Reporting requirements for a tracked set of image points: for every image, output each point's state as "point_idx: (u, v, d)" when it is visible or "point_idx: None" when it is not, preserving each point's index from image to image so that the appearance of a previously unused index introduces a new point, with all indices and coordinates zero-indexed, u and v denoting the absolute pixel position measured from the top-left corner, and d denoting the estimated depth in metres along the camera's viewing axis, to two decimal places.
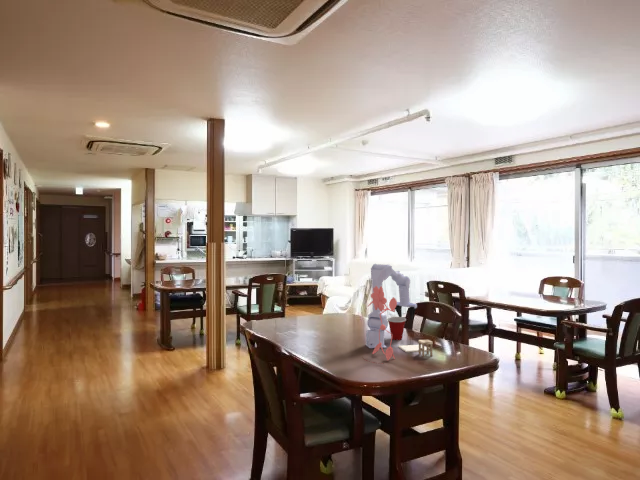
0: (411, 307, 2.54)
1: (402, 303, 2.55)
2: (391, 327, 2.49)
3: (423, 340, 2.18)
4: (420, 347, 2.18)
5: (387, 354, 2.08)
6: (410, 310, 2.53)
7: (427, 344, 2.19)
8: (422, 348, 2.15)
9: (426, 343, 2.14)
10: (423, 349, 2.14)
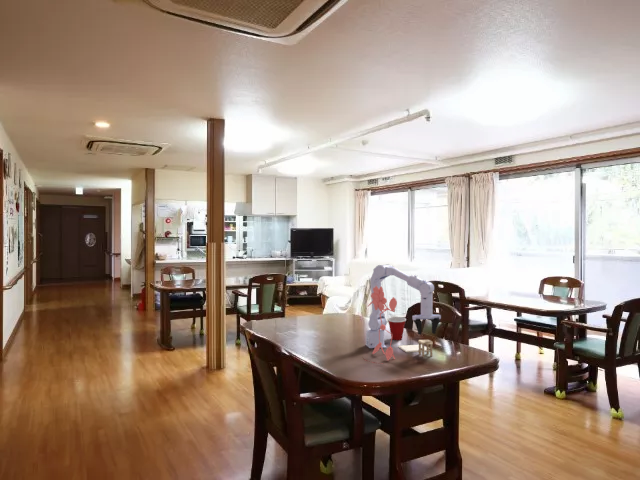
0: None
1: None
2: (391, 327, 2.49)
3: (423, 340, 2.18)
4: (420, 347, 2.18)
5: (387, 354, 2.08)
6: None
7: (427, 344, 2.19)
8: (422, 348, 2.15)
9: (426, 343, 2.14)
10: (423, 349, 2.14)
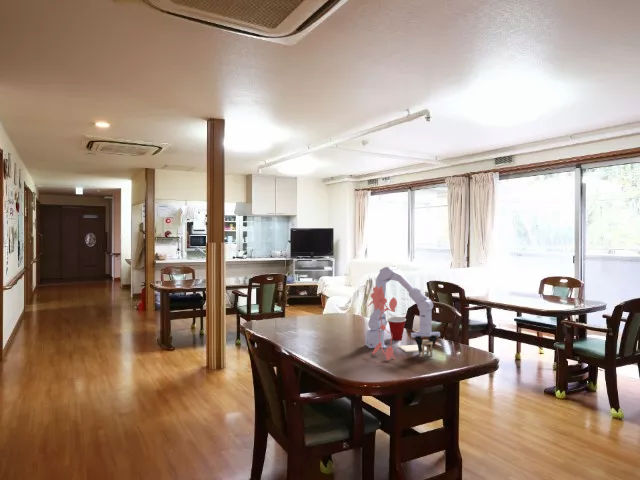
0: None
1: None
2: (391, 327, 2.49)
3: (423, 340, 2.18)
4: None
5: (387, 354, 2.08)
6: None
7: (427, 344, 2.19)
8: (422, 348, 2.15)
9: (426, 343, 2.14)
10: (423, 349, 2.14)
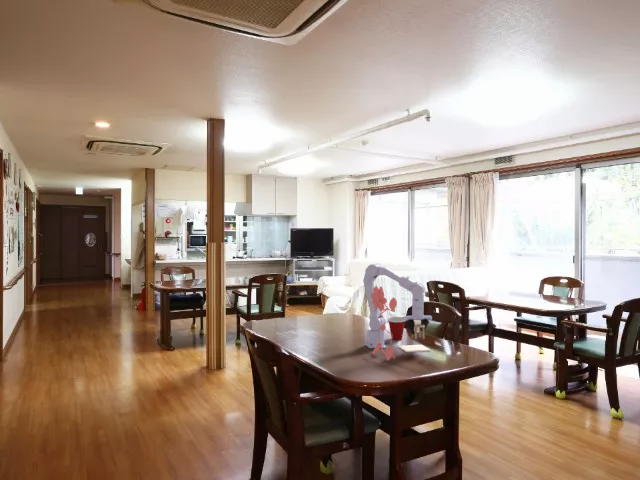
0: None
1: None
2: (391, 327, 2.49)
3: (416, 323, 2.26)
4: None
5: (387, 354, 2.08)
6: None
7: (419, 327, 2.26)
8: (414, 331, 2.22)
9: (418, 326, 2.22)
10: (415, 332, 2.21)
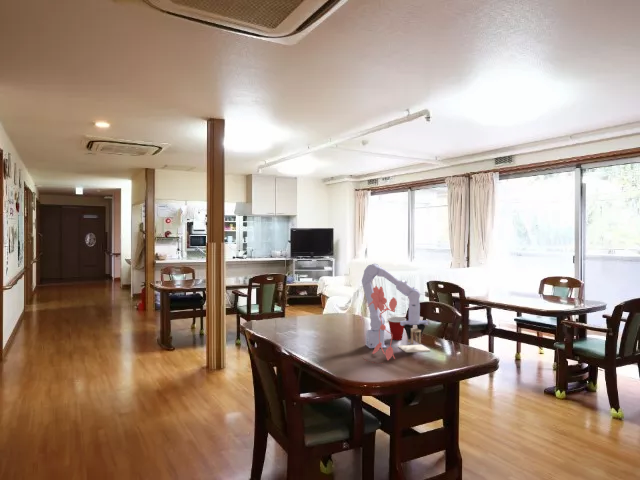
0: None
1: None
2: (391, 327, 2.49)
3: (412, 328, 2.30)
4: None
5: (387, 354, 2.08)
6: None
7: (416, 332, 2.30)
8: (411, 336, 2.26)
9: (415, 331, 2.26)
10: (412, 337, 2.25)
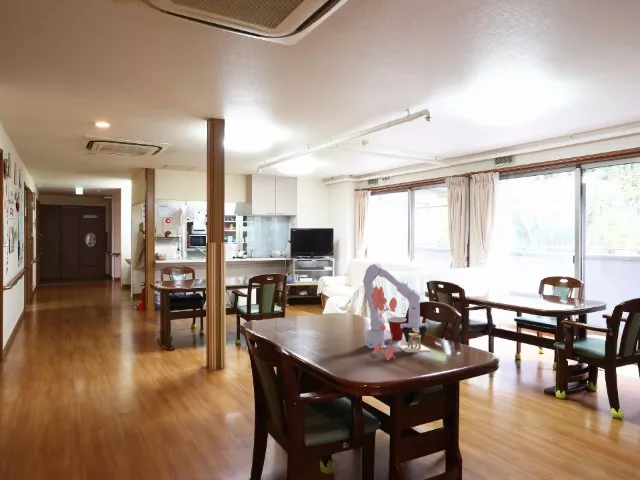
0: None
1: None
2: (391, 327, 2.49)
3: (412, 333, 2.30)
4: (409, 340, 2.30)
5: (387, 354, 2.08)
6: None
7: (416, 337, 2.31)
8: (411, 341, 2.26)
9: (414, 336, 2.26)
10: (412, 342, 2.26)
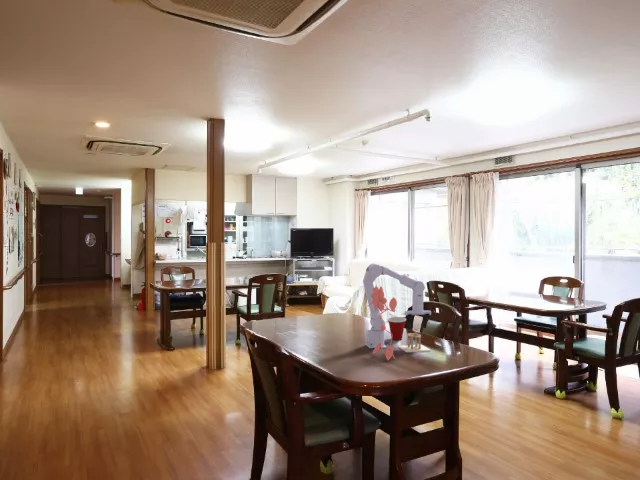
0: None
1: None
2: (391, 327, 2.49)
3: (412, 333, 2.30)
4: (409, 340, 2.30)
5: (387, 354, 2.08)
6: None
7: (416, 337, 2.31)
8: (411, 341, 2.26)
9: (414, 336, 2.26)
10: (412, 342, 2.26)
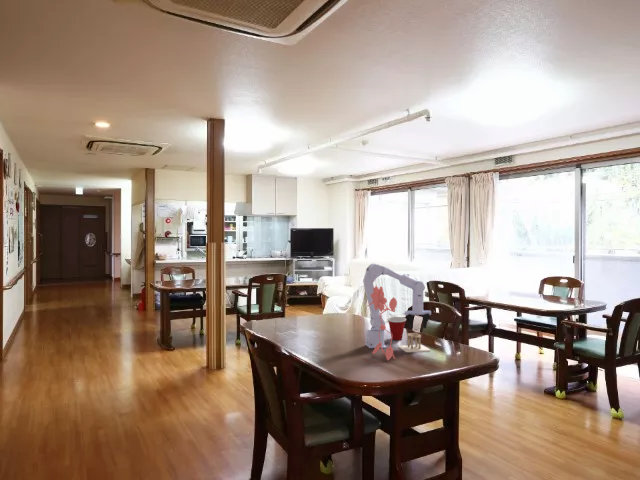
0: None
1: None
2: (391, 327, 2.49)
3: (412, 333, 2.30)
4: (409, 340, 2.30)
5: (387, 354, 2.08)
6: None
7: (416, 337, 2.31)
8: (411, 341, 2.26)
9: (414, 336, 2.26)
10: (412, 342, 2.26)
